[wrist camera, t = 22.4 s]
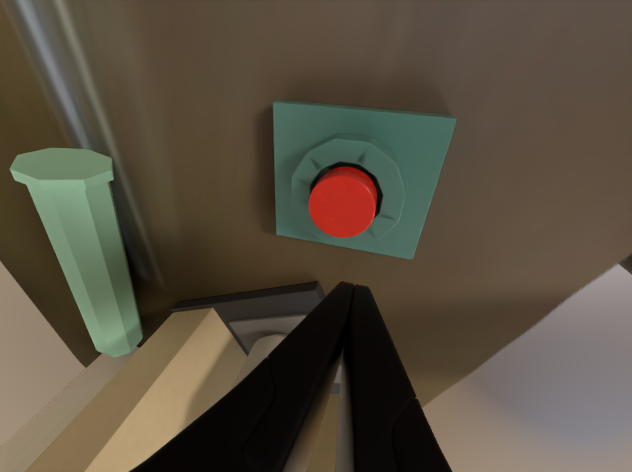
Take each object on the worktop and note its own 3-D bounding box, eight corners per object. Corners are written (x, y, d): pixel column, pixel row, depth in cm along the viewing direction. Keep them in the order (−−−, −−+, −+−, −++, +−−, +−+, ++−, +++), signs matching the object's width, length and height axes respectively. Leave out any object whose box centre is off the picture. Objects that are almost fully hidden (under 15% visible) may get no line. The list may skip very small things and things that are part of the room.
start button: (382, 170, 14) (381, 181, 12) (371, 228, 16) (369, 243, 14) (317, 162, 15) (309, 171, 13) (314, 218, 16) (306, 232, 15)
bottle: (125, 379, 46) (-98, 630, 25) (95, 334, 39) (-234, 617, 19) (184, 396, 43) (-10, 691, 22) (161, 350, 37) (-133, 699, 16)
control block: (451, 114, 15) (466, 123, 12) (411, 247, 19) (414, 276, 16) (282, 99, 16) (259, 104, 13) (283, 224, 21) (266, 247, 18)
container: (106, 377, 31) (25, 188, 16) (84, 343, 33) (-5, 151, 19) (158, 344, 35) (129, 172, 21) (135, 317, 37) (95, 144, 23)
